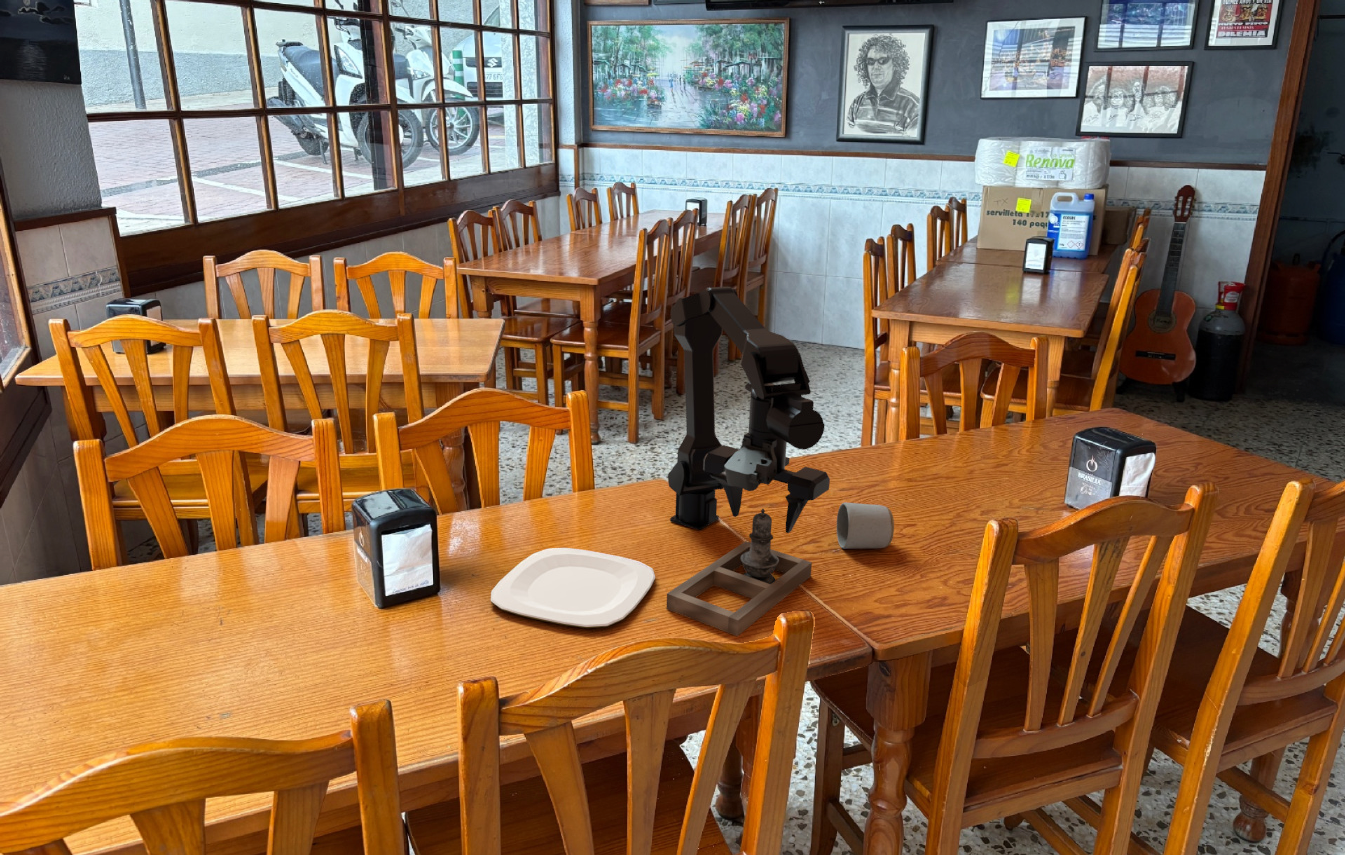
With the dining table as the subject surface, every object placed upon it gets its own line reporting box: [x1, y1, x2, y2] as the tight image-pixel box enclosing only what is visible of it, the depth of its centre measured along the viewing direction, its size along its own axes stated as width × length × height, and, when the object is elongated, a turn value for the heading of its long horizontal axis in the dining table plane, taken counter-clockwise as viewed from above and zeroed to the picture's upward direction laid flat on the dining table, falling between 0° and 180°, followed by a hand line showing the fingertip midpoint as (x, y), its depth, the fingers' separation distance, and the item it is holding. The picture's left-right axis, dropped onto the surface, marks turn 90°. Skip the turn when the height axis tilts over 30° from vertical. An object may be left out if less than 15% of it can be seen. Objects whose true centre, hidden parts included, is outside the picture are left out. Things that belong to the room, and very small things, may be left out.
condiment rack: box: [665, 541, 813, 637], centre depth 138 cm, size 12×22×2 cm, turn 145°
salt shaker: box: [741, 508, 779, 584], centre depth 140 cm, size 6×6×12 cm
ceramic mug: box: [836, 501, 895, 550], centre depth 155 cm, size 11×8×8 cm
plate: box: [490, 547, 656, 629], centre depth 137 cm, size 22×22×2 cm
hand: (761, 523), depth 139 cm, fingers open, 9 cm apart
